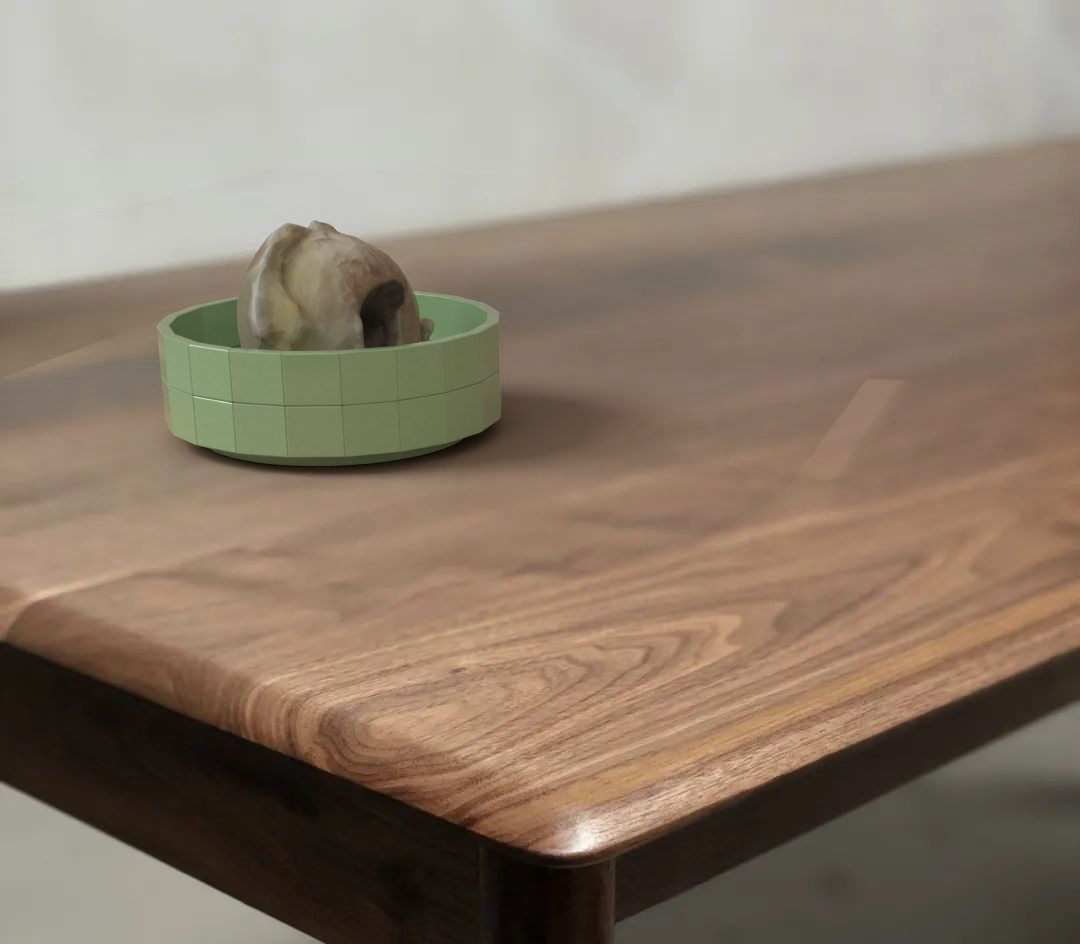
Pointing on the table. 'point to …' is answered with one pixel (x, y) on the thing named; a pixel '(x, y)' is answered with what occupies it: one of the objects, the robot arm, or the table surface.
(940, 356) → the table surface
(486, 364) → the bowl
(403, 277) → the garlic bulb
